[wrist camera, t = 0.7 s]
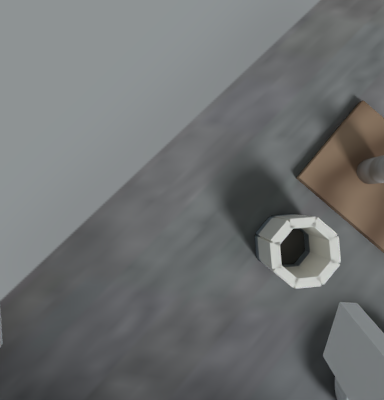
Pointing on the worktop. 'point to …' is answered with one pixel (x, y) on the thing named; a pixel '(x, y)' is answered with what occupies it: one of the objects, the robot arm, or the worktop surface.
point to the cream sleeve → (313, 255)
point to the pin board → (353, 172)
